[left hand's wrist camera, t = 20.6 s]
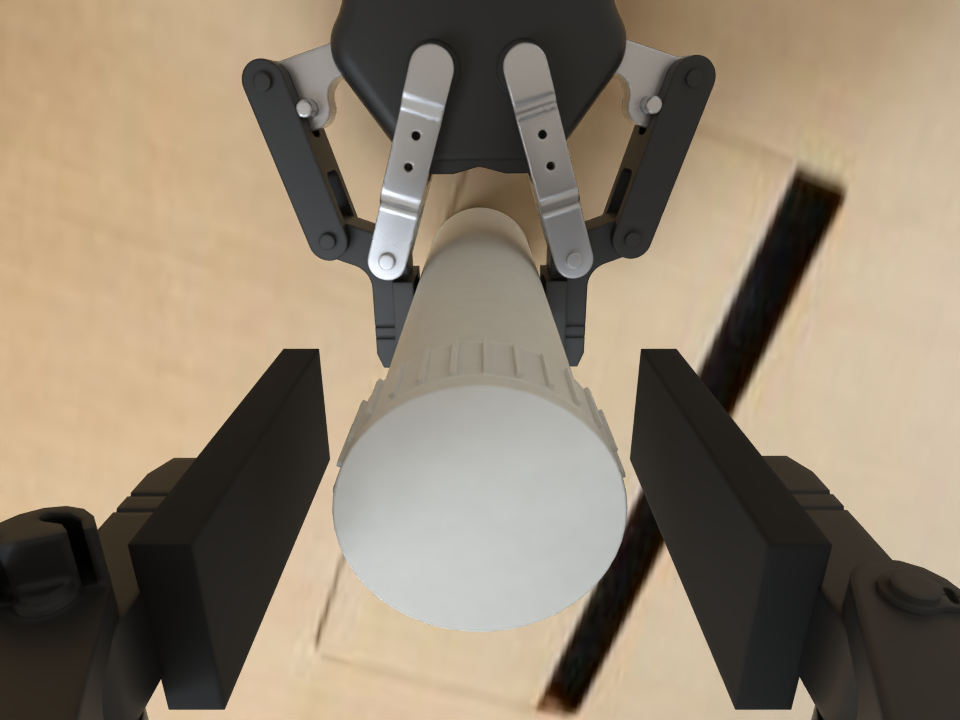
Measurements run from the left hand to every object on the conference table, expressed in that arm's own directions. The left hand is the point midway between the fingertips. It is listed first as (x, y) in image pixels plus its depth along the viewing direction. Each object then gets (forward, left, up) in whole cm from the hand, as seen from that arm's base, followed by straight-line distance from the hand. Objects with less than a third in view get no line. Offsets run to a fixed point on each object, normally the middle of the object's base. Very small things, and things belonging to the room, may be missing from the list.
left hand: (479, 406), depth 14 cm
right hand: (-2, +1, -8) cm, 9 cm away
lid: (0, 0, +4) cm, 4 cm away
